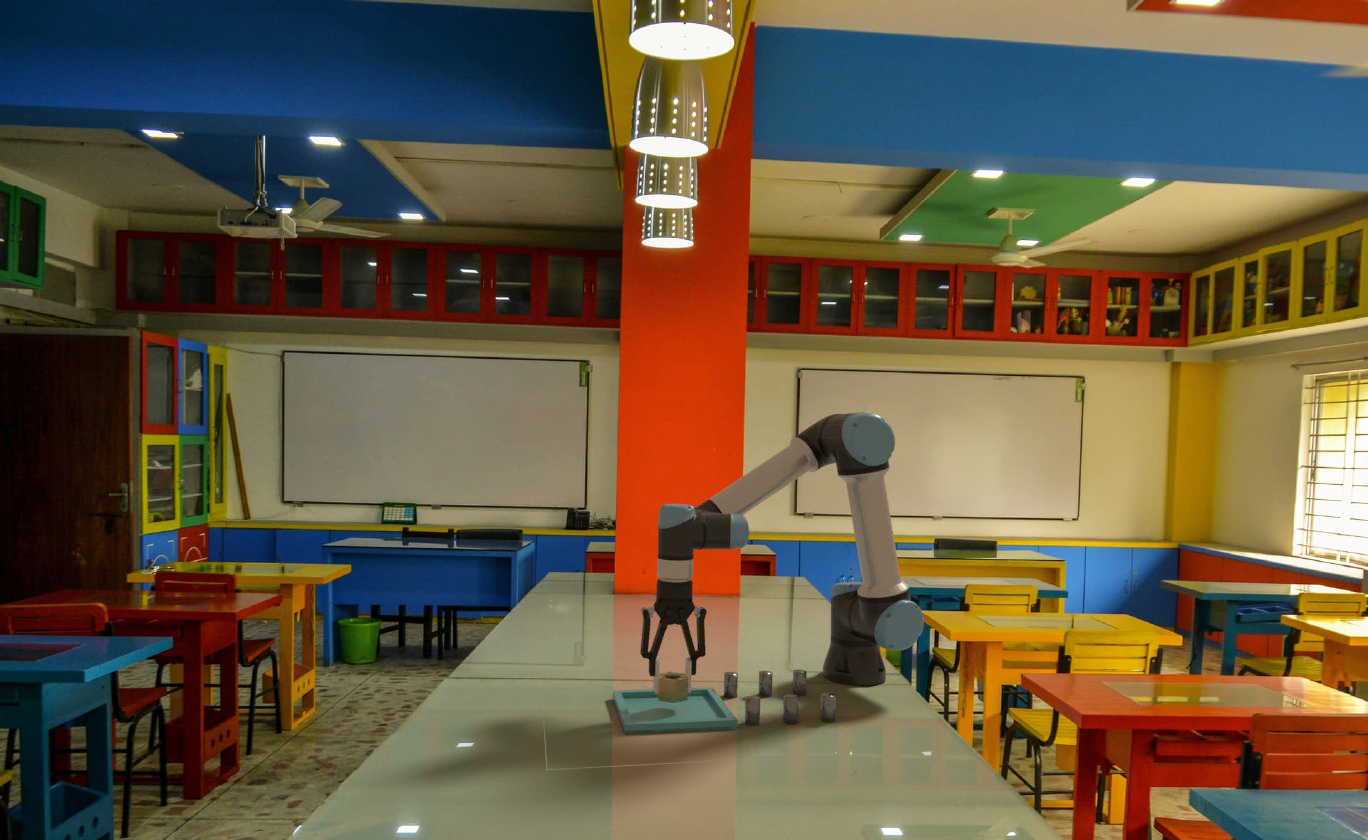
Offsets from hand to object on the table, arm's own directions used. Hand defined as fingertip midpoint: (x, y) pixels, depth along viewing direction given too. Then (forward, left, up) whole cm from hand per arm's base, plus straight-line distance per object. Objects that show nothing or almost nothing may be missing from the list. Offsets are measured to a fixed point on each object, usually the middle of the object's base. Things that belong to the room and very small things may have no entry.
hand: (672, 690), depth 173 cm
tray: (0, 0, -5) cm, 5 cm away
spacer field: (-23, -1, -5) cm, 24 cm away
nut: (0, 0, -1) cm, 1 cm away
